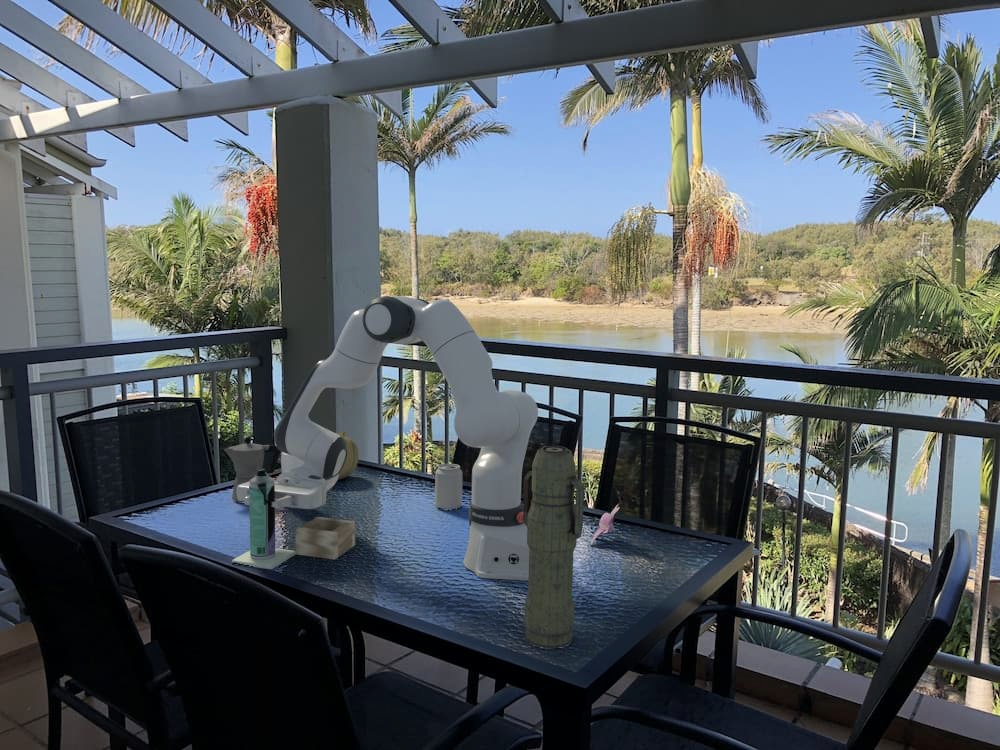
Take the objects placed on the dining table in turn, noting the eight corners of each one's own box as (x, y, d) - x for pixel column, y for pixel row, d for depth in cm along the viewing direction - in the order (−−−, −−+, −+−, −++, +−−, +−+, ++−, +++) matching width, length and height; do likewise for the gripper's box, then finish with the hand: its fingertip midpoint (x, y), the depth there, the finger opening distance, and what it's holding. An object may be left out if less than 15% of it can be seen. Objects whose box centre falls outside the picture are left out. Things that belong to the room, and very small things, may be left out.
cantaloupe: (301, 478, 248) (301, 432, 246) (339, 470, 259) (338, 425, 257) (331, 487, 238) (330, 439, 237) (368, 478, 250) (368, 432, 248)
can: (467, 506, 222) (467, 465, 221) (451, 513, 216) (452, 470, 214) (445, 502, 226) (446, 461, 225) (429, 508, 220) (430, 466, 218)
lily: (607, 535, 203) (590, 504, 202) (646, 527, 196) (628, 494, 195) (589, 562, 194) (571, 530, 193) (629, 554, 187) (610, 521, 186)
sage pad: (295, 554, 182) (295, 550, 182) (271, 569, 173) (271, 565, 172) (258, 549, 185) (258, 545, 185) (232, 563, 175) (231, 560, 175)
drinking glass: (300, 509, 216) (299, 455, 214) (277, 507, 218) (276, 454, 216) (310, 502, 223) (310, 450, 221) (288, 500, 224) (288, 448, 222)
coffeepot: (222, 504, 219) (220, 440, 217) (227, 495, 228) (226, 434, 226) (279, 502, 222) (278, 440, 220) (282, 493, 231) (281, 433, 229)
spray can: (279, 556, 178) (278, 470, 176) (257, 562, 174) (255, 473, 172) (268, 549, 182) (267, 465, 180) (246, 555, 178) (244, 468, 176)
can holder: (355, 545, 189) (355, 521, 188) (334, 559, 179) (334, 534, 178) (317, 540, 192) (317, 516, 191) (295, 554, 182) (295, 529, 181)
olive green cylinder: (531, 621, 149) (536, 440, 145) (588, 637, 143) (595, 448, 139) (507, 639, 142) (512, 448, 138) (566, 656, 136) (573, 458, 131)
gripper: (256, 471, 192) (220, 484, 179) (331, 479, 186) (300, 494, 173) (256, 496, 193) (221, 511, 180) (331, 505, 187) (300, 522, 174)
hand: (260, 503), depth 176 cm, fingers closed on spray can, 5 cm apart
